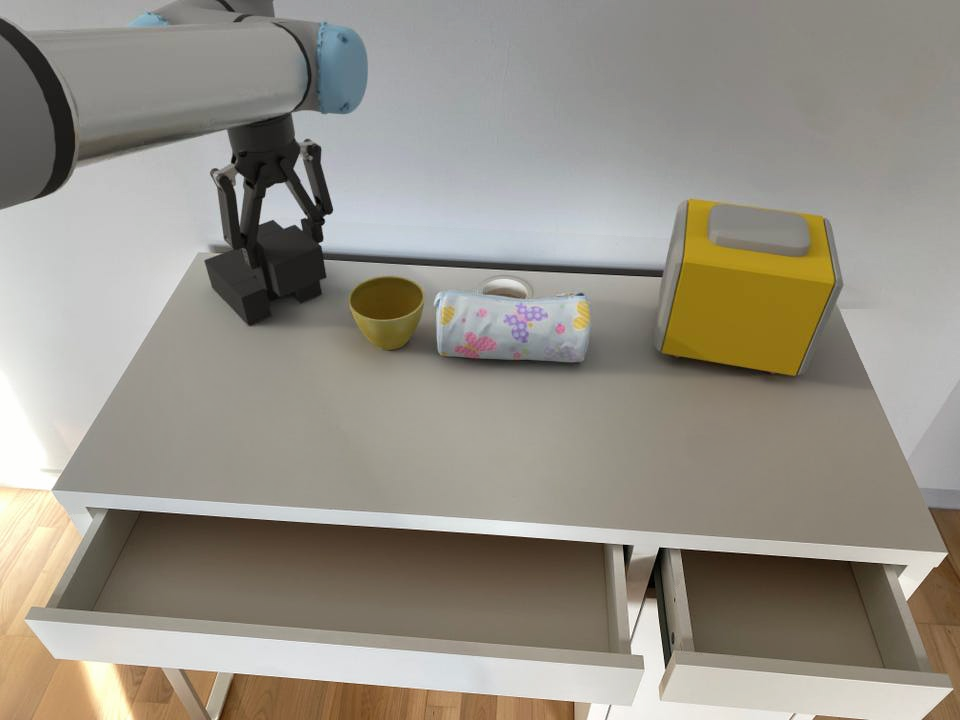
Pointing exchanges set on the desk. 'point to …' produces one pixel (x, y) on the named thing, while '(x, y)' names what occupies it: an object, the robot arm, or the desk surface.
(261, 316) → the notch pad
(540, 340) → the pencil case
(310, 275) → the tab pad
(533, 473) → the desk surface
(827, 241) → the alarm clock
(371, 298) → the flower pot
